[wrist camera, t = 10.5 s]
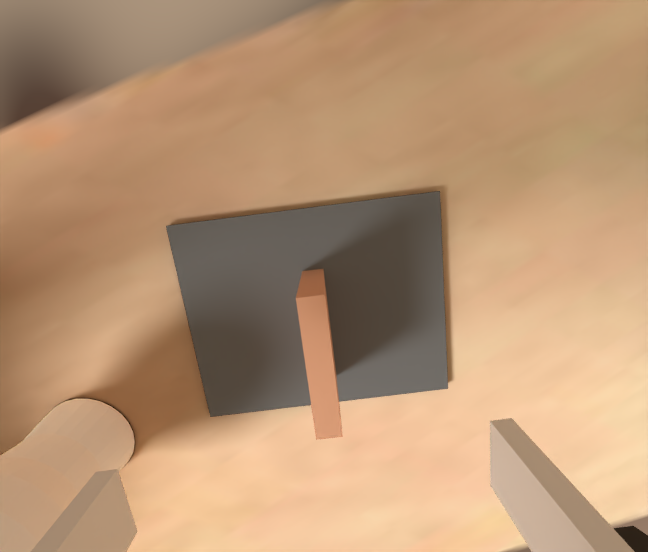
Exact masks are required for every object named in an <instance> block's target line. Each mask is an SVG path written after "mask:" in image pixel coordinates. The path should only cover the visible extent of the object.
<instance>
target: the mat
mask: <svg viewBox="0 0 648 552" xmlns="http://www.w3.org/2000/svg"><path fill="white" fill-rule="evenodd" d="M166 228H167V233H168V237H169V241H170V246H171V250H172V254H173V258H174V263H175V267H176V271H177V276H178V280H179V284H180V288H181V293H182V297H183V301H184V306H185V310H186V314H187V318H188V323H189V327H190V331H191V336H192V340H193V344H194V349H195V353H196V357H197V361H198V366H199V370H200V374H201V379H202V383H203V387H204V391H205V396H206V400H207V404H208V409H209V413H210V417H214V416H222V415H230V414H239V413H247V412H256V411H264V410H272V409H281V408H289V407H298V406H306V405H311V400H310V393H309V386H308V379H307V372H306V365H305V358H304V352H303V345H302V338H301V331H300V324H299V317H298V310H297V303H296V295H297V291H298V287H299V283H300V279H301V274H302V271H308V270H316V269H323V270H324V279H325V287H326V295H327V303H328V311H329V319H330V328H331V336H332V344H333V352H334V360H335V368H336V377H337V387H338V396H339V401H348V400H356V399H365V398H373V397H381V396H390V395H398V394H407V393H415V392H423V391H432V390H440V389H448V377H447V352H446V328H445V303H444V279H443V254H442V230H441V205H440V191H436V192H428V193H421V194H413V195H405V196H397V197H389V198H381V199H373V200H365V201H358V202H350V203H342V204H334V205H326V206H318V207H310V208H303V209H295V210H287V211H279V212H271V213H263V214H255V215H247V216H240V217H232V218H224V219H216V220H208V221H200V222H192V223H184V224H177V225H169V226H166Z"/></svg>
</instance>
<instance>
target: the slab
mask: <svg viewBox="0 0 648 552" xmlns="http://www.w3.org/2000/svg"><path fill="white" fill-rule="evenodd" d="M296 303H297V310H298V317H299V324H300V331H301V338H302V345H303V352H304V358H305V365H306V372H307V379H308V386H309V393H310V400H311V407H312V413H313V420H314V427H315V434H316V440H317V439H326V438H335V437H343V436H342V426H341V416H340V406H339V396H338V387H337V377H336V368H335V360H334V352H333V344H332V336H331V328H330V319H329V311H328V303H327V295H326V287H325V279H324V270H323V269H316V270H308V271H302V274H301V279H300V283H299V287H298V291H297V295H296Z"/></svg>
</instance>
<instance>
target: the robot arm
mask: <svg viewBox="0 0 648 552" xmlns="http://www.w3.org/2000/svg"><path fill="white" fill-rule="evenodd" d="M490 478H491V487H492V489H493V490H494V492H495V494H496V495H497V497H498V498H499V500H500V502H501V503H502V505H503V506H504V508H505V510H506V511H507V513H508V514H509V516H510V518H511V519H512V521H513V522H514V524H515V526H516V527H517V529H518V530H519V532H520V534H521V535H522V537H523V538H524V540H525V542H526V543H527V545H528V546H529V548H530V550H531V551H532V552H648V535H646V534H645V533H643V532H642V531H640V530H639V529H637V528H636V527H634V526H629V527H621V528H612V527H611V525H610V524H609V523H608V522H607V521H606V520H605V519H604V518H603V517H602V516H601V515H600V514H599V512H598V511H597V510H596V509H595V508H594V507H593V506H592V505H591V504H590V503H589V502H588V501H587V499H586V498H585V497H584V496H583V495H582V494H581V493H580V492H579V491H578V490H577V489H576V488H575V486H574V485H573V484H572V483H571V482H570V481H569V480H568V479H567V478H566V477H565V476H564V474H563V473H562V472H561V471H560V470H559V469H558V468H557V467H556V466H555V465H554V464H553V463H552V461H551V460H550V459H549V458H548V457H547V456H546V455H545V454H544V453H543V452H542V451H541V450H540V448H539V447H538V446H537V445H536V444H535V443H534V442H533V441H532V440H531V439H530V438H529V437H528V435H527V434H526V433H525V432H524V431H523V430H522V429H521V428H520V427H519V426H518V425H517V424H516V422H515V421H514V420H513V419H512V418H510V419H502V420H494V421H490ZM136 533H137V529H136V525H135V522H134V519H133V516H132V513H131V510H130V507H129V504H128V500H127V497H126V494H125V491H124V488H123V485H122V482H121V479H120V475H119V472H118V469H114V470H106V471H98V472H95V473H94V475H93V476H92V477H91V478H90V479H89V481H88V482H87V483H86V484H85V486H84V487H83V488H82V489H81V490H80V492H79V493H78V494H77V495H76V497H75V498H74V499H73V500H72V501H71V503H70V504H69V505H68V506H67V508H66V509H65V510H64V511H63V513H62V514H61V515H60V516H59V517H58V519H57V520H56V521H55V522H54V524H53V525H52V526H51V527H50V528H49V530H48V531H47V532H46V533H45V535H44V536H43V537H42V538H41V540H40V541H39V542H38V543H37V544H36V546H35V547H34V548H33V549H32V551H31V552H127V550H128V548H129V546H130V544H131V542H132V541H133V539H134V537H135V535H136Z"/></svg>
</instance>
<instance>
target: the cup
mask: <svg viewBox="0 0 648 552" xmlns="http://www.w3.org/2000/svg"><path fill="white" fill-rule="evenodd" d="M134 444H135V441H134V434H133V431H132V429H131V427H130V425H129V423H128V421H127V420H126V419H125V418H124V417H123V415H122V414H121V413H119V412H118V411H117V410H115V409H114V408H113V407H111V406H109V405H107V404H105V403H103V402H101V401H96V400H92V399H73V400H69V401H65V402H63V403H61V404H59V405H58V406H56V407H54V408H53V409H52V410H51V411H50V412H49V413H48V414H47V415H46V416H45V417H44V418H43V419H42V420H41V421H40V422H39V423H38V424H37V426H36V427H35V428H34V429H33V430H32V431H31V432H30V433H29V434H28V435H27V436H26V438H25V439H24V440H23V441H22V442H21V443H19V444H18V445H16V446H14V447H13V448H11V449H10V450H8V451H7V452H5V453H3V454H2V455H0V552H31V551H32V549H33V548H34V547H35V546H36V544H37V543H38V542H39V541H40V540H41V538H42V537H43V536H44V535H45V533H46V532H47V531H48V530H49V528H50V527H51V526H52V525H53V524H54V522H55V521H56V520H57V519H58V517H59V516H60V515H61V514H62V513H63V511H64V510H65V509H66V508H67V506H68V505H69V504H70V503H71V501H72V500H73V499H74V498H75V497H76V495H77V494H78V493H79V492H80V490H81V489H82V488H83V487H84V486H85V484H86V483H87V482H88V481H89V479H90V478H91V477H92V476H93V475H94V473H95V472H98V471H106V470H114V469H118V472H119V471H120V470H121V469H122V468H123V466H124V465H125V464H126V463H127V462H128V461H129V459H130V457H131V456H132V454H133V451H134Z"/></svg>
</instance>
